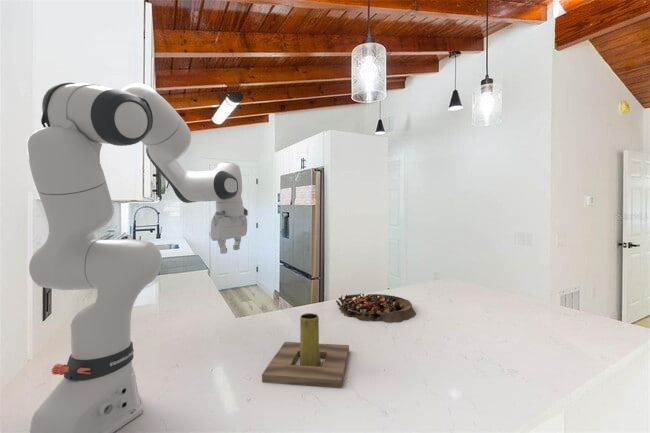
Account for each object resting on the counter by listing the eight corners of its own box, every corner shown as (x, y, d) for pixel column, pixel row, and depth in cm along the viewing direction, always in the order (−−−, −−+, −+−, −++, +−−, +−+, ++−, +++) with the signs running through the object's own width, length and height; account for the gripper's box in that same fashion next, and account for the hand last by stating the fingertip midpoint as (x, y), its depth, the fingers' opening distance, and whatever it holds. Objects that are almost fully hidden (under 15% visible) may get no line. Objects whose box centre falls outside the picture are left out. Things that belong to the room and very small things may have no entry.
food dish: (321, 311, 145) (320, 294, 145) (370, 299, 166) (370, 284, 166) (381, 331, 118) (380, 309, 118) (431, 313, 139) (430, 294, 140)
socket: (341, 387, 81) (341, 380, 81) (262, 381, 84) (261, 374, 84) (349, 351, 102) (349, 345, 102) (285, 347, 105) (284, 341, 105)
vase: (317, 371, 89) (316, 320, 89) (296, 368, 91) (295, 318, 91) (323, 361, 95) (322, 313, 95) (303, 359, 97) (302, 312, 97)
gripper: (223, 211, 99) (224, 256, 99) (249, 210, 119) (250, 248, 119) (204, 211, 100) (205, 255, 100) (233, 211, 120) (234, 248, 120)
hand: (230, 251), depth 110 cm, fingers open, 8 cm apart
